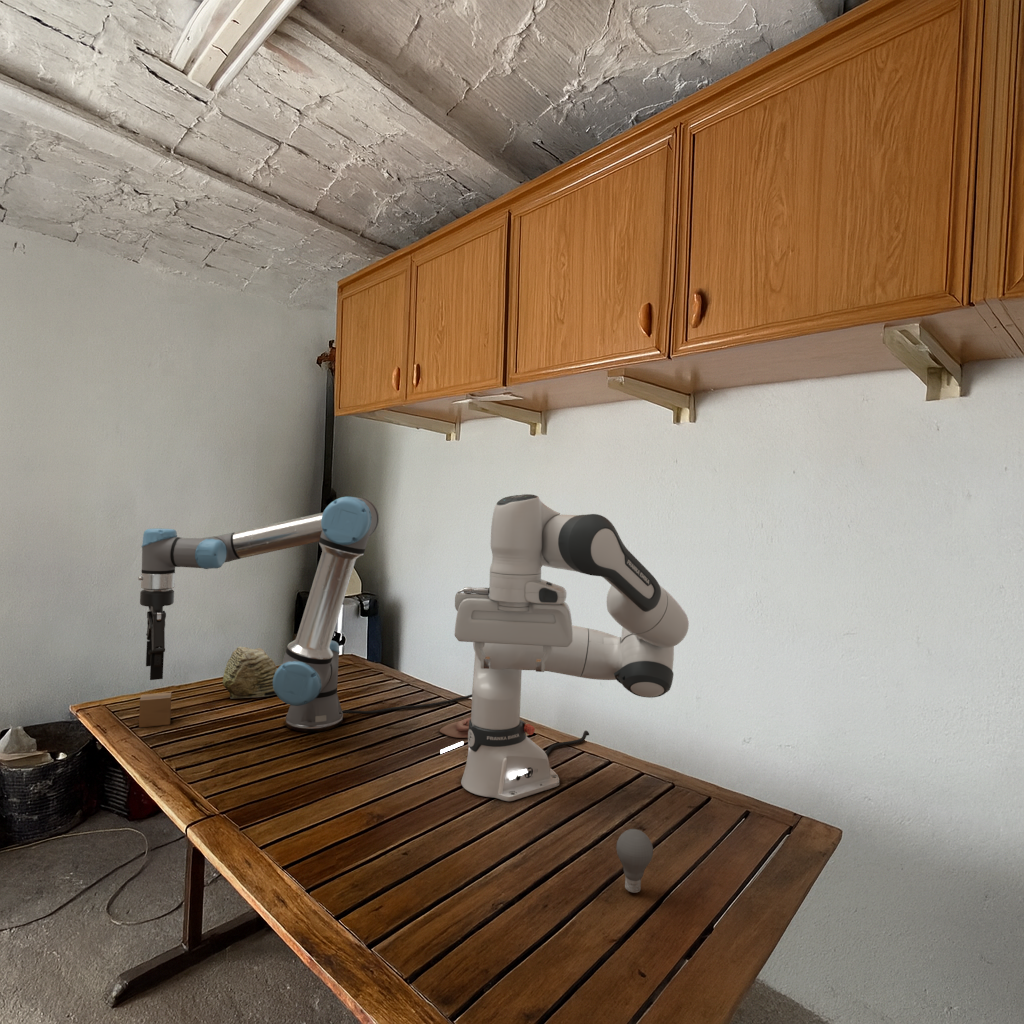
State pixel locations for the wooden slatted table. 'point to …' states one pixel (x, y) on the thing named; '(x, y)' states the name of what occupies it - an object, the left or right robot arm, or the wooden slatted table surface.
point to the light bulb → (634, 857)
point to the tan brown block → (155, 709)
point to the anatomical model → (457, 729)
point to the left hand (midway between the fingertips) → (154, 672)
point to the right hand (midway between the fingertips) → (512, 669)
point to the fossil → (249, 673)
